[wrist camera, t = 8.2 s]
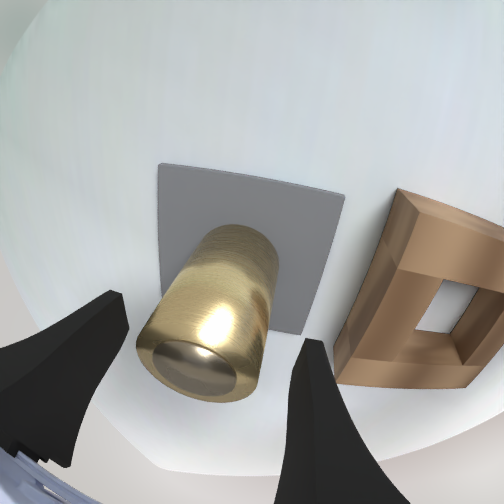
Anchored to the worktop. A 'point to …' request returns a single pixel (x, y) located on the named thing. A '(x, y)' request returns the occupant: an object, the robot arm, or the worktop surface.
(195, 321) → the end cover
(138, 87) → the worktop surface
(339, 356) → the housing
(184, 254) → the mat
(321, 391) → the robot arm
